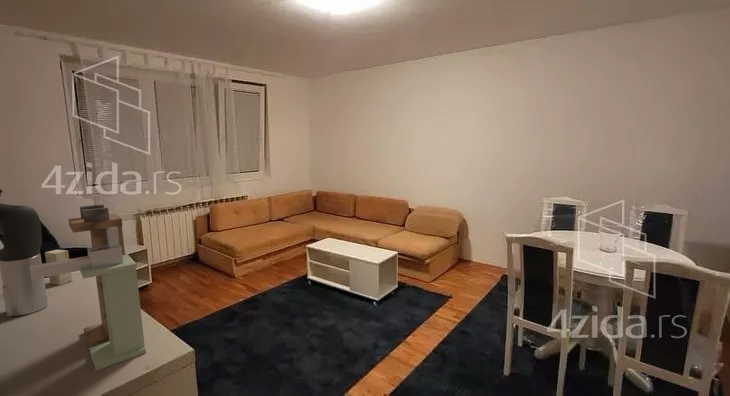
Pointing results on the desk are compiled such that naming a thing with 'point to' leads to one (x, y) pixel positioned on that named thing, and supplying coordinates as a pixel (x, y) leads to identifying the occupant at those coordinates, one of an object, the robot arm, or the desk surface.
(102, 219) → the wooden pedestal post
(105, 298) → the green flanged bracket
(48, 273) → the grey stepped block
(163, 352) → the desk surface
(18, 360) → the desk surface
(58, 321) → the desk surface
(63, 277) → the skincare box
